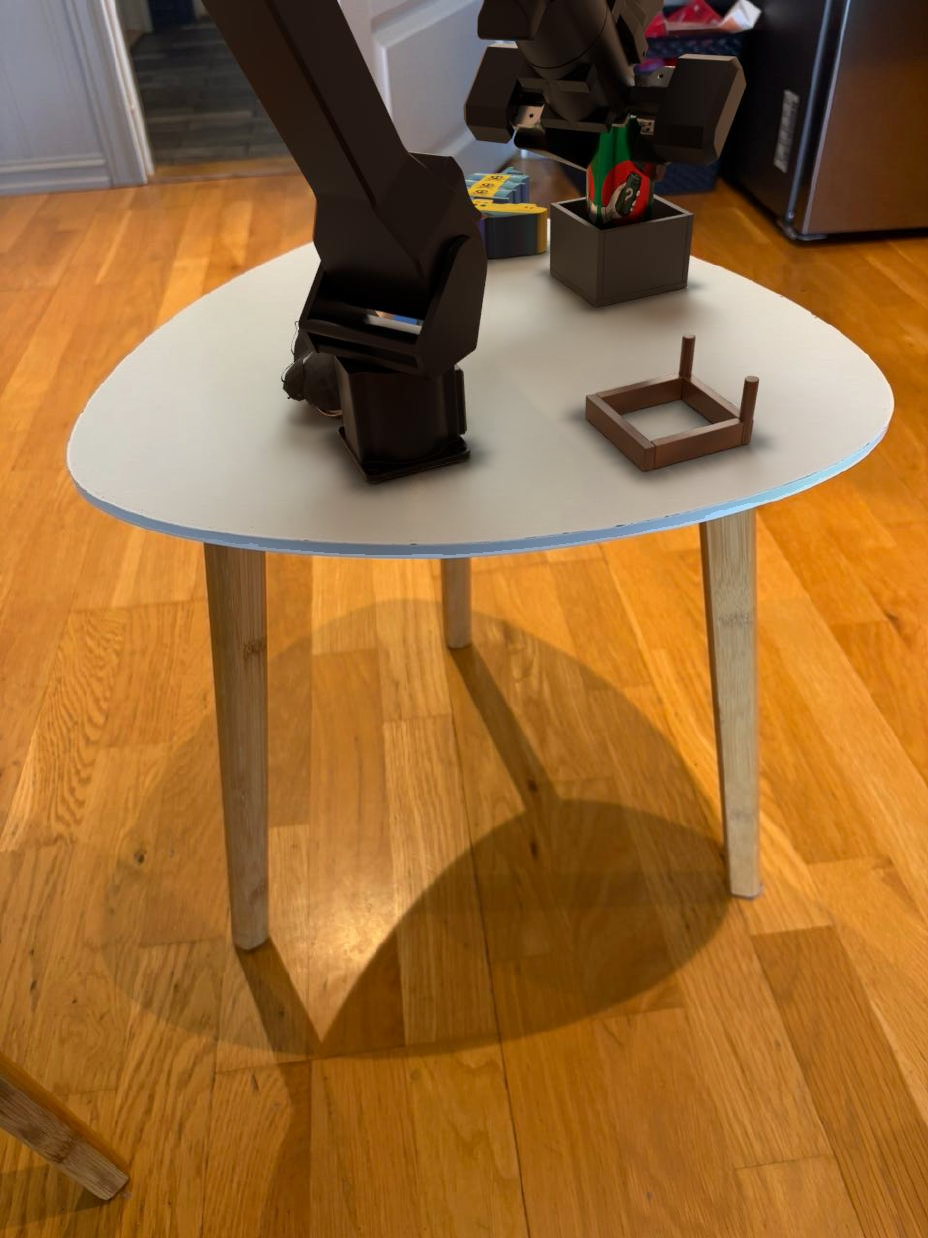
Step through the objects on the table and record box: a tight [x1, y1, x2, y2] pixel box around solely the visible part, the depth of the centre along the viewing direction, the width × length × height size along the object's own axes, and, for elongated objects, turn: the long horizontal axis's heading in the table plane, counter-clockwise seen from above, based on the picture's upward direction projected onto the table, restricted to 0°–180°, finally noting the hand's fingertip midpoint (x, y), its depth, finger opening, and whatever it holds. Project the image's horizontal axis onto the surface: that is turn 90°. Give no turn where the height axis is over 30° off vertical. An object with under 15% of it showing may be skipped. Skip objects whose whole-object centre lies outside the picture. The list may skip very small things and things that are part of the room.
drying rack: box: [584, 333, 760, 472], centre depth 56 cm, size 7×7×4 cm
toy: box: [465, 166, 548, 259], centre depth 85 cm, size 16×3×15 cm
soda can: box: [585, 115, 656, 231], centre depth 71 cm, size 5×5×12 cm
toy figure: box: [280, 309, 394, 417], centre depth 63 cm, size 7×6×15 cm
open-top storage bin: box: [549, 193, 695, 308], centre depth 74 cm, size 8×8×6 cm
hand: (628, 171), depth 71 cm, fingers closed on soda can, 5 cm apart
